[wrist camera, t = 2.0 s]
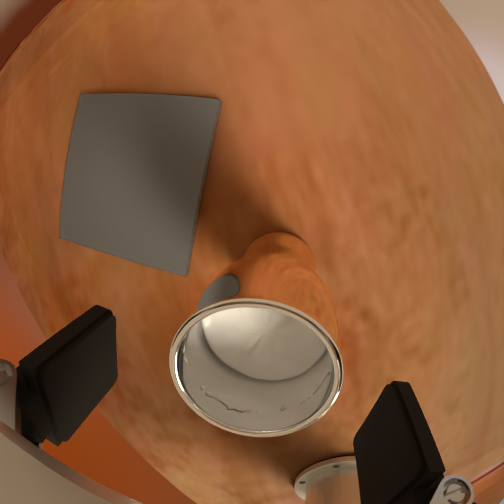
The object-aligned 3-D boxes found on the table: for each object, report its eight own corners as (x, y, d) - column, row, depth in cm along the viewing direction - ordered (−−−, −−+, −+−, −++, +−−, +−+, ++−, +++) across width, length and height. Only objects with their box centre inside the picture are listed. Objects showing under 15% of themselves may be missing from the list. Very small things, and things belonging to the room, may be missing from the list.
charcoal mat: (222, 102, 22) (219, 99, 21) (188, 274, 26) (185, 276, 25) (85, 95, 23) (80, 94, 23) (63, 236, 27) (59, 237, 26)
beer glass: (280, 208, 23) (254, 246, 9) (338, 270, 24) (385, 383, 9) (220, 265, 25) (132, 362, 11) (276, 322, 26) (252, 458, 11)
